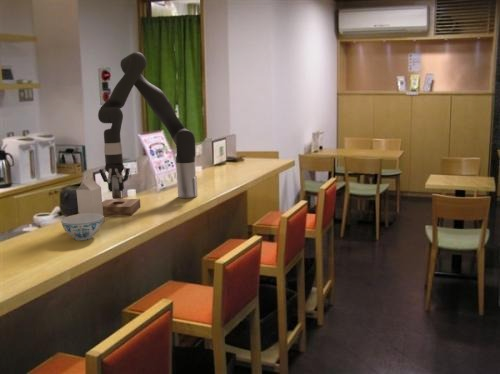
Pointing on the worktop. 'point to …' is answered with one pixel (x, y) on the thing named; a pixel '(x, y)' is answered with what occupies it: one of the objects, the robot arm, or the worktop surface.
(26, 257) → the worktop surface
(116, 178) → the grey upright bar
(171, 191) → the worktop surface
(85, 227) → the chinaware
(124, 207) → the block
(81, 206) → the milk carton
